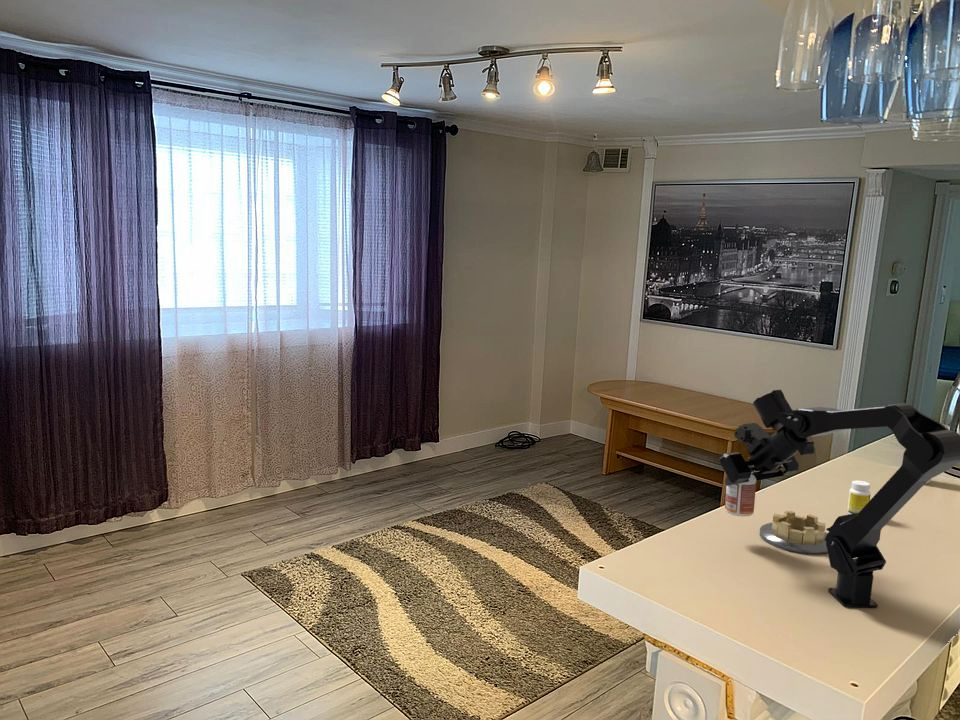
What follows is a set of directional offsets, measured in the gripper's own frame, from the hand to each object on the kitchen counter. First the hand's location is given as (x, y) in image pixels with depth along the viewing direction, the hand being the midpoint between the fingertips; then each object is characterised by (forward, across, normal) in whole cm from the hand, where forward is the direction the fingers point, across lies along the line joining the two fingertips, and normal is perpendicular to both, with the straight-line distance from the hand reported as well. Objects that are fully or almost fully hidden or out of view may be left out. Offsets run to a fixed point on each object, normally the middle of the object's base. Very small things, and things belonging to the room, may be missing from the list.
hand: (736, 482), depth 163 cm
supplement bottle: (+9, -42, +10) cm, 44 cm away
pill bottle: (+4, 0, +6) cm, 7 cm away
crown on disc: (+5, -14, +14) cm, 20 cm away
